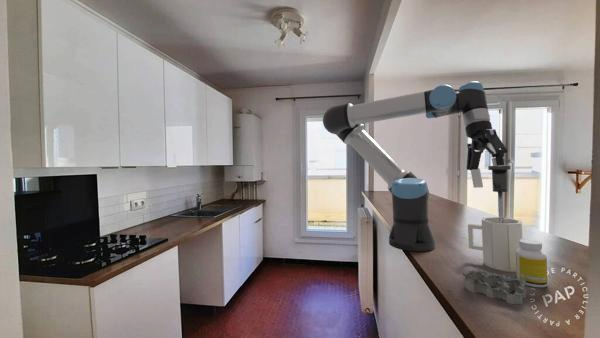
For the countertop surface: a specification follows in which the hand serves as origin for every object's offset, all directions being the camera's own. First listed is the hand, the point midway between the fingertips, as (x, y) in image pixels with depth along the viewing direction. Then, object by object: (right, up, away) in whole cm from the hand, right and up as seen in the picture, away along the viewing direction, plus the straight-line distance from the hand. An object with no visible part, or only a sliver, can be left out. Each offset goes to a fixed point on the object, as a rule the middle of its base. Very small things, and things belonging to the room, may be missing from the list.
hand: (489, 183), depth 83 cm
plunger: (-7, -15, -14) cm, 21 cm away
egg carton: (-19, -23, -27) cm, 40 cm away
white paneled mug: (-8, -22, -13) cm, 26 cm away
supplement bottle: (-8, -22, -24) cm, 33 cm away
